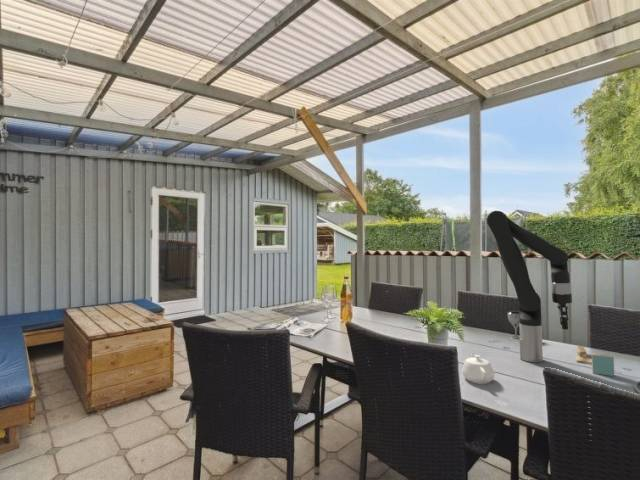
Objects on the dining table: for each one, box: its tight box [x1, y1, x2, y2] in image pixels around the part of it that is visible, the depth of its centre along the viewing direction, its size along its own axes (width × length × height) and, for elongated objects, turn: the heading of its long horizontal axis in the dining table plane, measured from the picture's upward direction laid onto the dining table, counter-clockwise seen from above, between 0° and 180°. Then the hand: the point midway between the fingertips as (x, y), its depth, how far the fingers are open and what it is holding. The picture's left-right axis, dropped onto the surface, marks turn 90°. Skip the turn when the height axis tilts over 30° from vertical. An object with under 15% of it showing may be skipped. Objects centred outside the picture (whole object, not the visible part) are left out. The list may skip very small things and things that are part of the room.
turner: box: [574, 345, 592, 365], centre depth 162 cm, size 6×16×4 cm, turn 147°
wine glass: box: [507, 310, 520, 340], centre depth 198 cm, size 8×8×15 cm
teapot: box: [461, 353, 495, 385], centre depth 141 cm, size 20×12×10 cm, turn 170°
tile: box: [591, 353, 615, 377], centre depth 143 cm, size 7×2×8 cm, turn 57°
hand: (564, 327), depth 155 cm, fingers open, 8 cm apart
